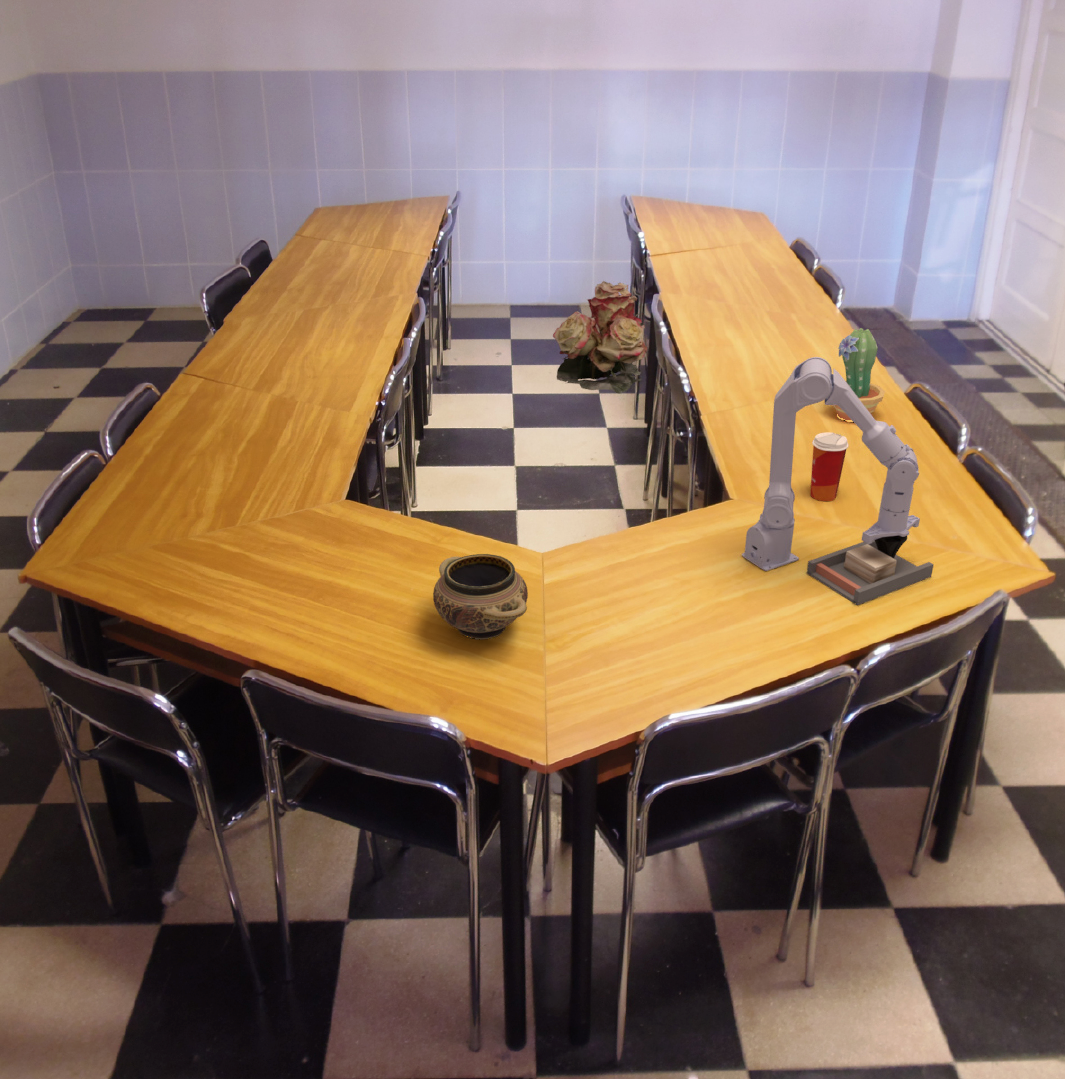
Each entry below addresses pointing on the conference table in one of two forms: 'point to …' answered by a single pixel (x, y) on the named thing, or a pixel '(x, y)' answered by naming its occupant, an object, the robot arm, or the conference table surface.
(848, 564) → the tan layered slab
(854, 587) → the bay
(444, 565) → the ceramic bowl
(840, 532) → the conference table surface
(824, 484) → the coffee cup
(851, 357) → the potted cactus
